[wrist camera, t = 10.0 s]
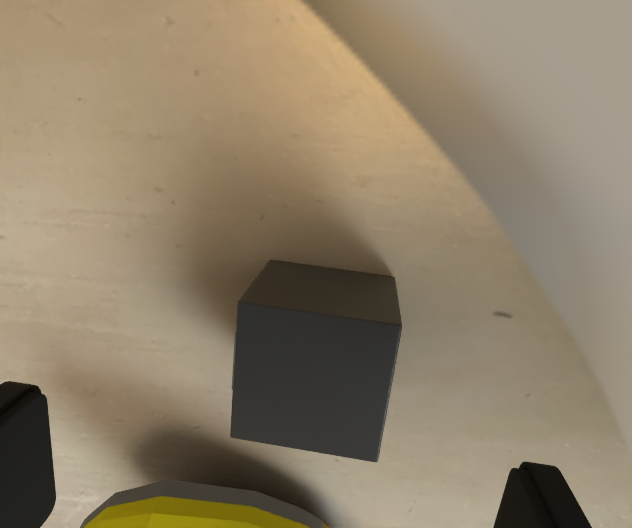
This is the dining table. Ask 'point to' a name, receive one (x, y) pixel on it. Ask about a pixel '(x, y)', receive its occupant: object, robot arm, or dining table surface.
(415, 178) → the dining table surface
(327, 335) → the block
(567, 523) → the robot arm
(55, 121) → the dining table surface
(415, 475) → the dining table surface
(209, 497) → the gaming controller
